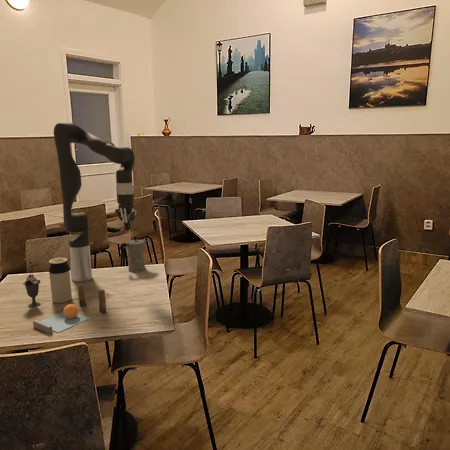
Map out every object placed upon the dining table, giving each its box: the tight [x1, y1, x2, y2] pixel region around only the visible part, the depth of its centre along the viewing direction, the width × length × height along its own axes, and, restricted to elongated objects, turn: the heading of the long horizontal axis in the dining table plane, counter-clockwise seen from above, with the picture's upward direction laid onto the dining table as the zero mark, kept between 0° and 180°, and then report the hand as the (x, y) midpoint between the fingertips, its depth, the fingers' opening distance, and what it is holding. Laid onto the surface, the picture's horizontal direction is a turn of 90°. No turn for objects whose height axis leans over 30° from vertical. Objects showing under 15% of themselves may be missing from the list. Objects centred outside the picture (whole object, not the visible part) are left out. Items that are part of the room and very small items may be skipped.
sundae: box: [22, 269, 42, 308], centre depth 176 cm, size 7×7×15 cm
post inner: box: [77, 283, 87, 307], centre depth 175 cm, size 3×3×9 cm
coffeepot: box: [119, 236, 148, 273], centre depth 219 cm, size 15×9×18 cm, turn 129°
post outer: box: [97, 289, 107, 314], centre depth 168 cm, size 3×3×9 cm
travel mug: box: [48, 257, 73, 304], centre depth 181 cm, size 8×8×18 cm
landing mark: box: [39, 311, 91, 334], centre depth 161 cm, size 14×14×1 cm
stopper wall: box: [32, 319, 53, 335], centre depth 154 cm, size 10×1×2 cm, turn 56°
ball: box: [62, 303, 80, 319], centre depth 164 cm, size 6×6×6 cm
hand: (127, 230), depth 192 cm, fingers closed
